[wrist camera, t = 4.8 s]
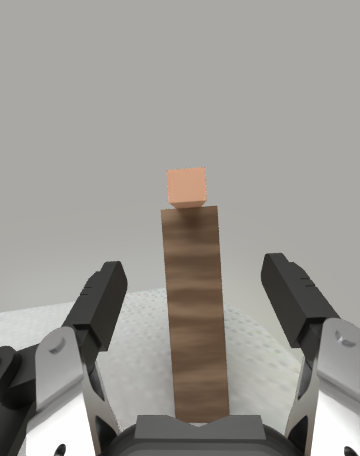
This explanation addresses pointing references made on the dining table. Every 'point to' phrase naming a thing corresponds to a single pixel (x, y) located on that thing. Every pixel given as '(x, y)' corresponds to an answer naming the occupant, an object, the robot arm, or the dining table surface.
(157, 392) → the dining table surface
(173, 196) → the peach-coloured block
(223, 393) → the stand
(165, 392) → the dining table surface
